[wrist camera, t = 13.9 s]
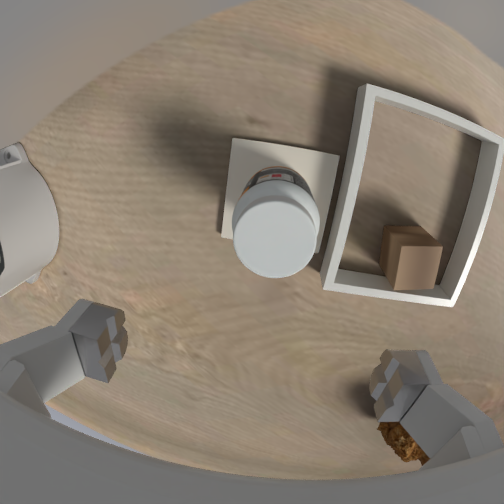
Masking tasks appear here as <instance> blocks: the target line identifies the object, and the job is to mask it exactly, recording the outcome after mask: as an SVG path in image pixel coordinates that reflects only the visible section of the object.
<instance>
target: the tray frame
mask: <svg viewBox="0 0 504 504" xmlns="http://www.w3.org/2000/svg"><path fill="white" fill-rule="evenodd" d="M375 101H377V102H380V103H383V104H387V105H390V106H393V107H396V108H400V109H403V110H406V111H409V112H412V113H415V114H417V115H420V116H423V117H426V118H429V119H431V120H434V121H436V122H439V123H442V124H444V125H447V126H449V127H451V128H454V129H456V130H459V131H461V132H463V133H466V134H468V135H470V136H472V137H474V138H477V139H479V140H481V141H482V143H481V149H480V154H479V159H478V164H477V169H476V173H475V178H474V182H473V186H472V190H471V194H470V197H469V201H468V205H467V208H466V212H465V215H464V218H463V222H462V225H461V228H460V231H459V234H458V237H457V240H456V243H455V246H454V249H453V252H452V254H451V257H450V260H449V262H448V265H447V268H446V270H445V273H444V275H443V278H442V280H441V283H440V285H434V289H415V290H393V288H392V286H391V284H390V282H389V281H388V279H387V277H386V276H379V275H373V274H367V273H361V272H355V271H349V270H343V269H338V267H339V263H340V260H341V256H342V252H343V249H344V245H345V241H346V237H347V234H348V230H349V226H350V222H351V218H352V214H353V209H354V205H355V201H356V197H357V192H358V188H359V183H360V178H361V174H362V169H363V164H364V159H365V154H366V149H367V144H368V138H369V133H370V127H371V121H372V115H373V109H374V102H375ZM503 154H504V138H502V137H500V136H498V135H497V134H495V133H493V132H491V131H489V130H487V129H485V128H483V127H481V126H479V125H477V124H475V123H473V122H471V121H468V120H466V119H464V118H462V117H460V116H457V115H455V114H453V113H451V112H448V111H446V110H443V109H441V108H438V107H436V106H433V105H431V104H428V103H426V102H423V101H420V100H418V99H415V98H412V97H409V96H406V95H403V94H400V93H397V92H394V91H391V90H388V89H384V88H381V87H378V86H374V85H371V84H365V85H362V86H360V87H358V90H357V97H356V103H355V110H354V116H353V122H352V128H351V134H350V139H349V145H348V150H347V156H346V161H345V166H344V171H343V176H342V181H341V186H340V190H339V195H338V200H337V204H336V209H335V213H334V217H333V222H332V226H331V230H330V235H329V239H328V243H327V247H326V251H325V255H324V259H323V263H322V267H321V270H320V277H321V282H322V287H323V290H330V291H337V292H344V293H350V294H357V295H364V296H371V297H378V298H386V299H393V300H400V301H408V302H416V303H423V304H431V305H439V306H447V307H453V306H454V304H455V302H456V300H457V298H458V296H459V293H460V291H461V289H462V287H463V284H464V282H465V280H466V277H467V275H468V272H469V270H470V267H471V265H472V262H473V260H474V257H475V254H476V252H477V249H478V246H479V243H480V241H481V238H482V235H483V232H484V229H485V226H486V222H487V219H488V216H489V212H490V209H491V205H492V202H493V198H494V194H495V190H496V186H497V182H498V178H499V174H500V169H501V164H502V159H503Z"/></svg>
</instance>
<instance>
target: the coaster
mask: <svg viewBox="0 0 504 504" xmlns="http://www.w3.org/2000/svg"><path fill="white" fill-rule="evenodd" d="M339 157H340V156H339V155H335V154H331V153H326V152H321V151H316V150H311V149H305V148H300V147H294V146H288V145H282V144H276V143H269V142H263V141H256V140H248V139H240V138H233V139H232V147H231V155H230V163H229V171H228V180H227V188H226V197H225V206H224V215H223V225H222V235H221V237H223V238H229V239H233V230H232V215H233V211H234V208H235V206H236V204H237V202H238V200H239V198H240V196H241V194H242V192H243V190H244V188H245V186H246V184H247V183H248V181H249V180H250V179H251V177H252V176H253V175H254V174H256V173H257V172H258V171H260V170H262V169H264V168H266V167H270V166H284V167H288V168H291V169H293V170H295V171H296V172H298V173H299V174H300V175H301V176H302V177H303V178H304V179H305V181H306V182H307V184H308V185H309V187H310V190H311V193H312V195H313V198H314V200H315V202H316V205H317V207H318V210H319V215H320V227H319V232H318V235H317V243H316V248H315V251H314V253H319V250H320V246H321V242H322V237H323V233H324V229H325V224H326V220H327V215H328V211H329V206H330V202H331V197H332V192H333V187H334V182H335V178H336V173H337V167H338V162H339Z"/></svg>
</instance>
